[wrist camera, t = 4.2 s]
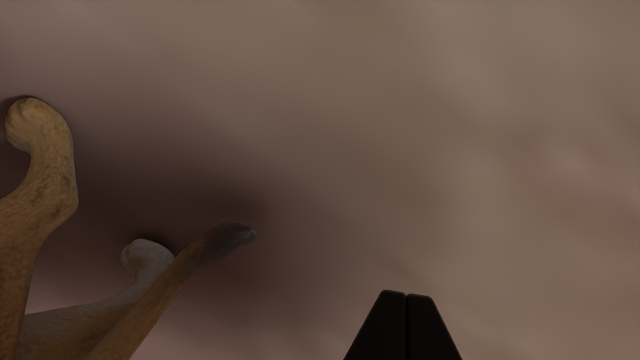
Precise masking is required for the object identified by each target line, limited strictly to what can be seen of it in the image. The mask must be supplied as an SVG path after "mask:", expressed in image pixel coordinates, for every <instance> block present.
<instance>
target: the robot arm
mask: <svg viewBox="0 0 640 360" xmlns="http://www.w3.org/2000/svg"><path fill="white" fill-rule="evenodd" d="M343 360H462V358H461V356H460V354H459V352H458V350H457V348H456V346H455V344H454V342H453V340H452V338H451V336H450V334H449V332H448V330H447V327H446V325H445V323H444V321H443V319H442V317H441V315H440V313H439V311H438V309H437V307H436V305H435V303H434V301H433V300H432V298H430V297H429V296H424V295H418V294H408V295H407V296H406V295H405V294H404V293H403V292H398V291H391V290H383V291H381V293H380V294H379V296H378V298H377V300H376V301H375V303H374V305H373V307H372V309H371V310H370V312H369V314H368V316H367V318H366V320H365V321H364V323H363V325H362V327H361V329H360V330H359V332H358V334H357V336H356V338H355V340H354V341H353V343H352V345H351V347H350V349H349V350H348V352H347V354H346V356H345V358H344V359H343Z"/></svg>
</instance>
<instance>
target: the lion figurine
mask: <svg viewBox="0 0 640 360" xmlns="http://www.w3.org/2000/svg"><path fill="white" fill-rule="evenodd" d="M5 130H6V136H7V139H8V141H9V142H10V143H11V144H12V145H13V146H15V147H16V148H18V149H19V150H21V151H24V152H26V153H28V154H30V155H31V164H30V167H29V170H28V173H27V175H26V177H25V179H24V180H23V182H22V183H21V184H20V185H19V186H18V187H17V188H16V189H15V190H14V191H13V192H11V193H10V194H8V195H7V196H5V197H4V198H2V199H0V360H129V359H130V357H131V356H132V355H133V353H134V352H135V351H136V349H137V348H138V347H139V345H140V344H141V343H142V341H143V340H144V338H145V337H146V336H147V334H148V333H149V332H150V330H151V329H152V327H153V326H154V325H155V323H156V322H157V320H158V319H159V317H160V316H161V314H162V313H163V311H164V310H165V308H166V307H167V306H168V305H169V303H170V302H171V301H172V299H173V298H174V297H175V296H176V294H177V293H178V292H179V291H180V290H181V289H182V287H183V286H184V285H185V284H186V283H188V282H189V281H190V280H191V279H192V278H193V277H194V276H195V275H196V274H197V273H198V272H199V271H200V270H201V269H202V268H203V267H205V266H206V265H208V264H210V263H212V262H214V261H216V260H219V259H221V258H223V257H225V256H226V255H227V254H229V253H230V252H231V251H232V250H234V249H235V248H237V247H239V246H241V245H244V244H247V243H249V242H251V241H253V240H254V239H256V230H255V229H254V228H250V227H245V226H240V225H237V224H235V223H224V224H220V225H218V226H217V227H215V228H213V229H211V230H209V231H207V232H205V233H204V234H203V235H202V236H201V237H200V238H198V239H197V240H195V241H194V242H193V243H192V244H190V245H189V246H188V247H186V248H185V249H183V250H182V251H181V252H180V253H179V255H178V256H177V257H176V258H174V255H173V254H172V253H171V252H170V251H169V250H168V249H167V248H165V247H163V246H162V245H160V244H158V243H155V242H153V241H149V240H146V239H136V240H134V241H133V242H132V243H130V244H128V245H127V246H126V247H125V248H124V249H123V250H122V251H121V253H120V256H119V260H120V264H121V266H122V267H123V268H124V269H125V270H126V271H127V273H128V274H129V275H131V276H133V277H135V278H136V280H135V282H134V284H133V285H132V286H131V287H129V288H128V289H126V290H125V291H123V292H121V293H119V294H117V295H115V296H113V297H110V298H108V299H106V300H103V301H100V302H96V303H92V304H88V305H81V306H73V307H68V308H61V309H55V310H50V311H44V312H38V313H32V314H27V315H24V313H25V308H26V304H27V299H28V294H29V288H30V283H31V278H32V273H33V268H34V264H35V260H36V257H37V253H38V251H39V250H40V248H41V246H42V244H43V243H44V241H45V240H46V239H47V238H48V236H49V235H50V234H51V233H52V232H53V231H54V230H55V229H57V228H58V227H59V226H60V225H62V224H63V223H64V222H65V221H67V220H68V219H69V218H70V217H71V216H72V215H73V214H74V213H75V211H76V210H77V207H78V204H79V200H78V190H77V185H76V178H75V168H74V156H73V141H72V135H71V132H70V129H69V126H68V124H67V123H66V121H65V120H64V118H63V117H62V116H61V115H60V114H59V113H58V112H57V111H56V110H54V109H53V108H52V107H51V106H49V105H48V104H46V103H45V102H43V101H41V100H39V99H37V98H32V97H31V98H24V99H20V100H18V101H16V102H14V103H13V104H12V105H11V106H10V108H9V111H8V114H7V116H6V119H5Z"/></svg>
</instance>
